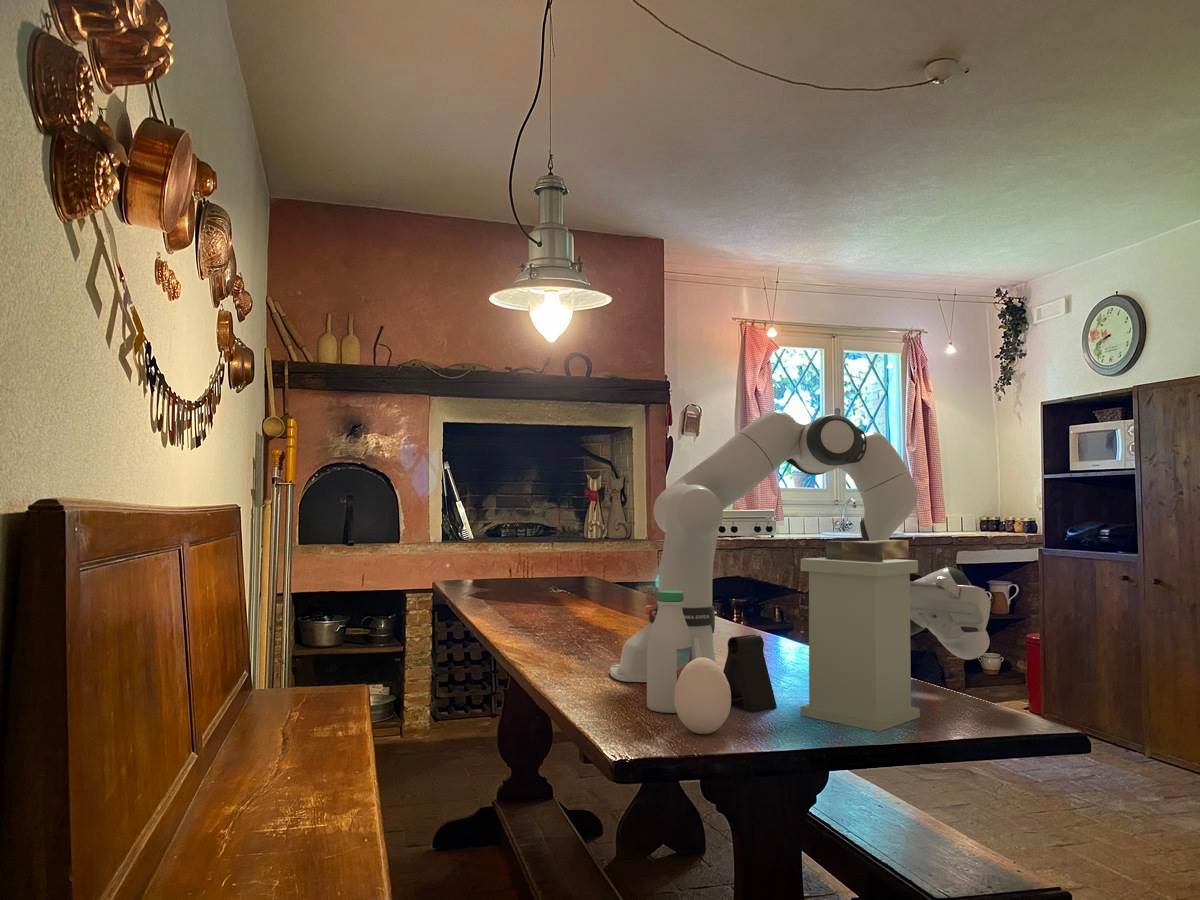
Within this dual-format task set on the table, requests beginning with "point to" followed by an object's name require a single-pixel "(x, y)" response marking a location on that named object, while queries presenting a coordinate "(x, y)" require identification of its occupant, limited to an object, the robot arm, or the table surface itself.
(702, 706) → the egg
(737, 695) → the phone stand
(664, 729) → the table surface
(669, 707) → the milk bottle
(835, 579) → the pedestal stand
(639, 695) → the table surface
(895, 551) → the tan block
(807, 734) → the table surface
